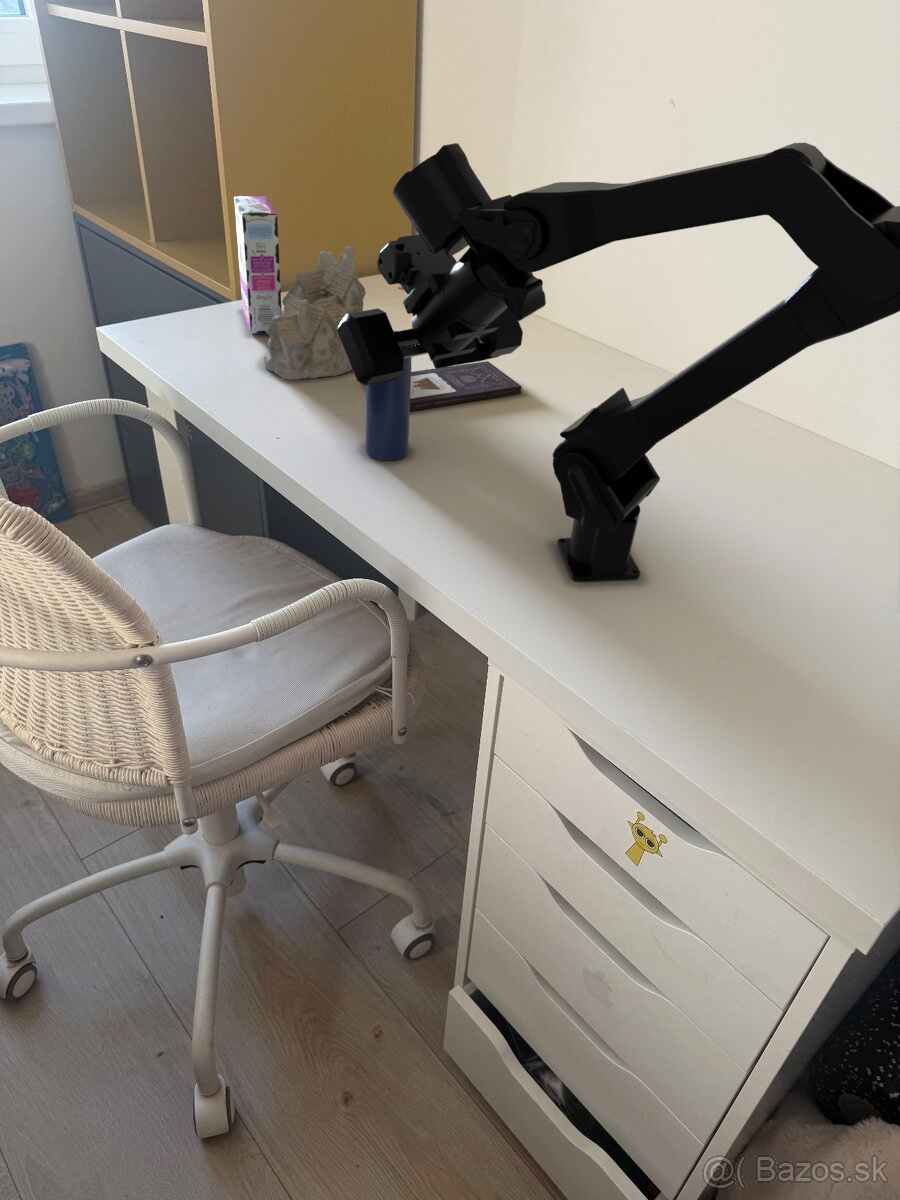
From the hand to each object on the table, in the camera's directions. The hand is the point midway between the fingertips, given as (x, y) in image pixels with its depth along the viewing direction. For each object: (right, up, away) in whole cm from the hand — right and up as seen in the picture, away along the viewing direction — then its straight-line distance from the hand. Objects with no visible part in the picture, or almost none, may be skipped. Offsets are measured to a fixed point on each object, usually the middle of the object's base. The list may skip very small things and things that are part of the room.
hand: (399, 371), depth 86 cm
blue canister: (-2, -7, +7) cm, 10 cm away
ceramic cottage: (-14, +10, +29) cm, 34 cm away
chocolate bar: (+5, +4, +22) cm, 23 cm away
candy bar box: (-23, +18, +38) cm, 48 cm away
